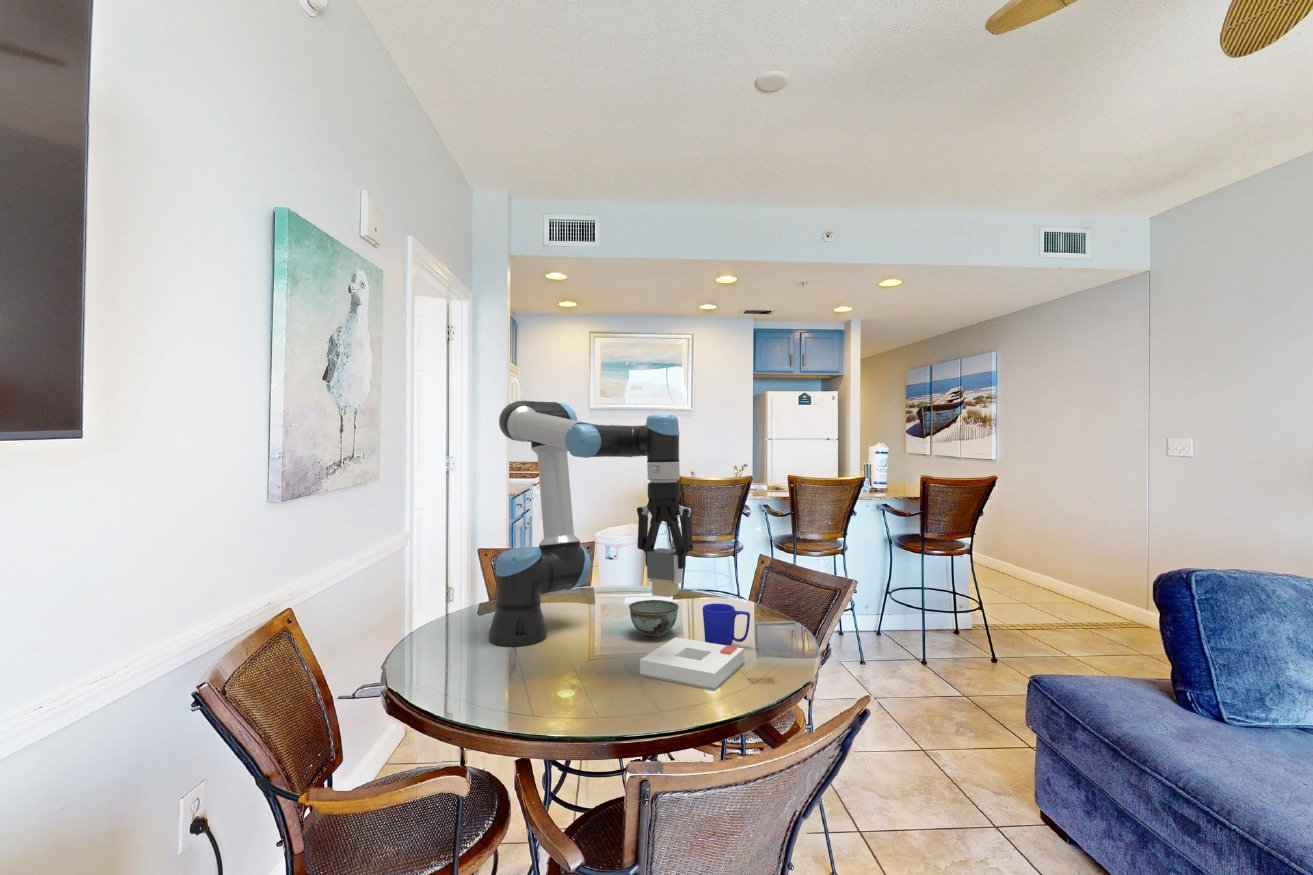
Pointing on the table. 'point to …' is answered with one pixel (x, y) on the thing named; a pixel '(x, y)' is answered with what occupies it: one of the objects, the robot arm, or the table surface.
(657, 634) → the bowl
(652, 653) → the socket plate
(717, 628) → the mug
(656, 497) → the robot arm
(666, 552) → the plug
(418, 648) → the table surface
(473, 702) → the table surface
